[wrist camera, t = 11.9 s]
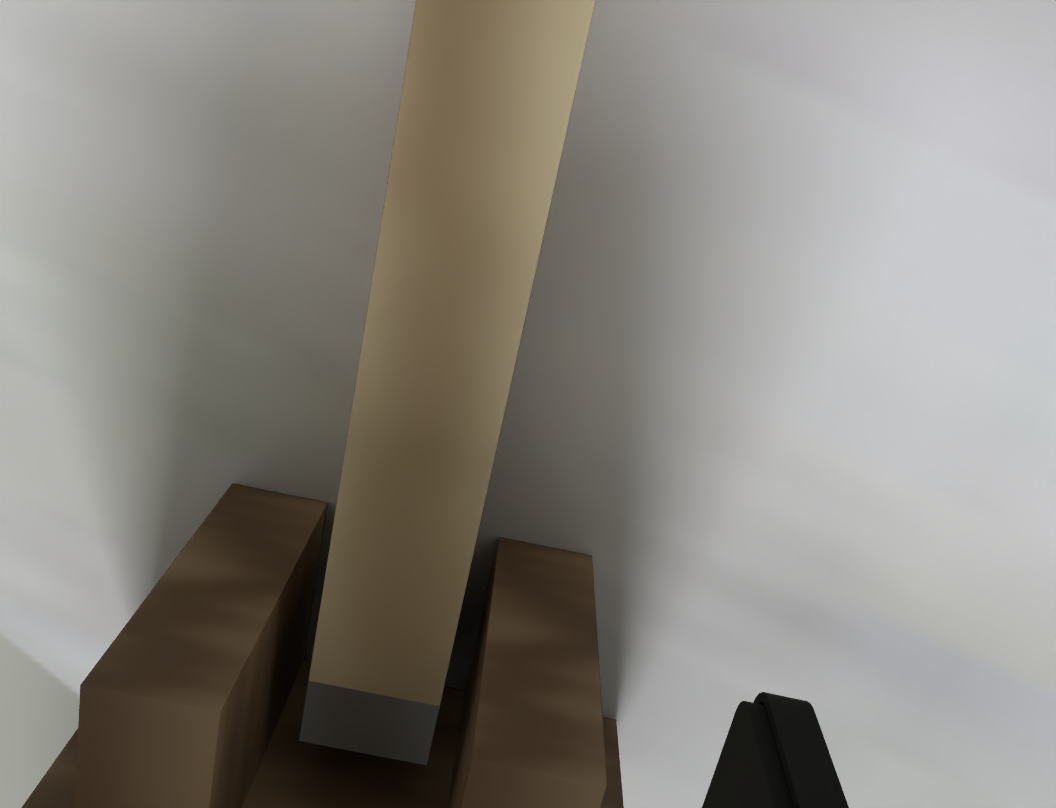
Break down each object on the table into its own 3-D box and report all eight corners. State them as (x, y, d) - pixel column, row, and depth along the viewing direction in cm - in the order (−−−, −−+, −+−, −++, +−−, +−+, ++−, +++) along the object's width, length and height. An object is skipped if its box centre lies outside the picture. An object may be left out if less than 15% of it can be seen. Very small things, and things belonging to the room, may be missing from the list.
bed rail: (610, -93, 24) (625, -138, 18) (450, 636, 31) (426, 765, 26) (472, -126, 23) (445, -181, 18) (345, 616, 31) (299, 740, 26)
